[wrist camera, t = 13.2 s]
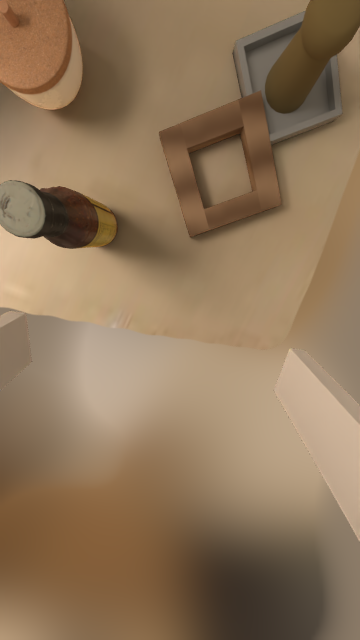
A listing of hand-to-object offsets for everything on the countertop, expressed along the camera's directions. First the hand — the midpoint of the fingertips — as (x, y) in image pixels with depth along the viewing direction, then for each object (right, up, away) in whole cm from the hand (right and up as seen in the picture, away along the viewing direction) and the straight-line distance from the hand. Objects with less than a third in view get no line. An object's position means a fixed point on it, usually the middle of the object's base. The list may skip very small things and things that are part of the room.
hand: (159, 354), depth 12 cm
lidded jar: (-16, +34, +19) cm, 42 cm away
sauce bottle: (-12, +17, +25) cm, 32 cm away
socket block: (+7, +24, +22) cm, 33 cm away
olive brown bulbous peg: (+15, +33, +19) cm, 41 cm away
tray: (+15, +33, +19) cm, 41 cm away
